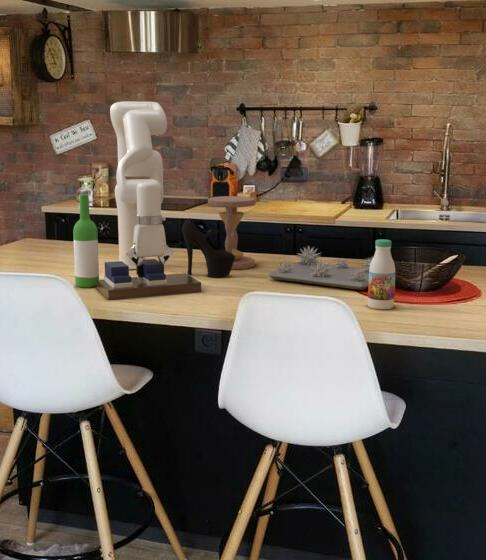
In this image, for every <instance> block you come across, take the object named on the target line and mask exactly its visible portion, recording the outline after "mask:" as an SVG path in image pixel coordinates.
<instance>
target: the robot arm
mask: <svg viewBox="0 0 486 560" xmlns="http://www.w3.org/2000/svg"><path fill="white" fill-rule="evenodd" d="M109 113H110V121H111V125H112V127H113V130H114V133H115V135H116V141H117V143H116V144H117V145H116V146H117V168H116V173H115V174H116V175H115V177H116V180H115V181H116V185H115V187H114V197H115V203H116V209H117V210H116V211H117V228H118V229H117V230H118V233H117V234H118V261H122V262H123V263H125V264H126V265H128V266H129V270H136V275H137V277H140V278H143V266H142V265H141V263H142V260H146V258H151V257H157V260H158V261H159V262H160V263H162V264H163V273H164V274H165V264H166V263H167V262H168V260H169V259H170V257H172V255H173V254H174V250H173V249H172V248H171V247H169V246H168V244H167V240H166V232H165V231H166V230H165V226H164V224H163V222H165V221H166V216H162V215H163V214H162V203H163V201H164V164H163V163H164V162H163V157H162V155H161V153H160V151H158V150H155V149H153V143H152V136H162V135H164V134H165V133H167V129H168V119H167V115H166V112H165V110H164V109H163V108H162V106H161V104H160V103H159V102H158V101H157V102H156V101H135V100H134V101H131V100H130V101H117V102H114V103H113V104H112V105H110V110H109ZM127 177H128V178H131V179H127ZM132 177H133V179H132ZM141 177H142V178H143V177H148V179H147V178H143V179H142V178H141Z"/></svg>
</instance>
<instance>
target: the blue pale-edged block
mask: <svg viewBox="0 0 486 560" xmlns="http://www.w3.org/2000/svg"><path fill="white" fill-rule="evenodd" d="M141 265H142V266H143V278H140V277H138V276H137V277H138V278H139V279H140V280H141V281H143V282H144V283H145V284H147V285H148V286H154V285H166V284H167V280H166V275H167V274H166V273H165V272H164V273H163V264H162V263H160V262H159V260H158V259H156V258H149V259H145V260H142V263H141Z"/></svg>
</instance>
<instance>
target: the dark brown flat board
mask: <svg viewBox="0 0 486 560" xmlns="http://www.w3.org/2000/svg"><path fill="white" fill-rule="evenodd" d="M166 280H167V284H166V285H154V286H148V285H147V284H145V283H144V282H143V281H141V280H140V279H139V278H138V276H131V282H132V283H133V287H128V288H116V289H113V288H112V287H111V286H110V285H109V284H108V283H107V282H106V281H104V278H103V279H99V280H97V286H96V288H97V290H98V291H99V292H100V294H102V295H103V296H104V298H106V299H107V300H108V301H111V300H112V301H113V300H123V299H135V298H145V297H146V298H147V297H157V296H169V295H178V294H180V295H181V294H192V293H201V292H202V282H201V281H200V280H198V279H196V278H194V277H192V276H191V275H188V273H186V272H184V273H183V272H181V273H171V274H166Z"/></svg>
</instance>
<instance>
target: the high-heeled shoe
mask: <svg viewBox="0 0 486 560" xmlns="http://www.w3.org/2000/svg"><path fill="white" fill-rule="evenodd" d="M181 233H182V235H183V238H184V242H185V246H186V252H187V274H188V275H189V276H191V275H192V274H193V269H192V268H193V253H194V246H196V247H197V248H198V249H199V250H200V251H201V254H203V257H204V259H205V264H206V270H207V271H206V272H207V274H206V276H207V277H208V278H218V279H220V278H224V277H228V276H230V275H231V272H232V270H231V268H232V266H233V263H234V259H235V256H234V254H232V253H230V252H228V251H226V249H224V248H219V247H217V246H216V245H215V244H214V243H213V242H212V240H211V239H210V236H213V235H217V234H219V233H220V232H219V229H213V230H211V229H210V230H208V231H205V230H203V228H202V227H200V226H199V225H198V224H197V223H196V222H195V221H194V220H193V219H192V218H190V217H189V218H187V219H186V220H185V222H184V223H183V224H182V227H181Z"/></svg>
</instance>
